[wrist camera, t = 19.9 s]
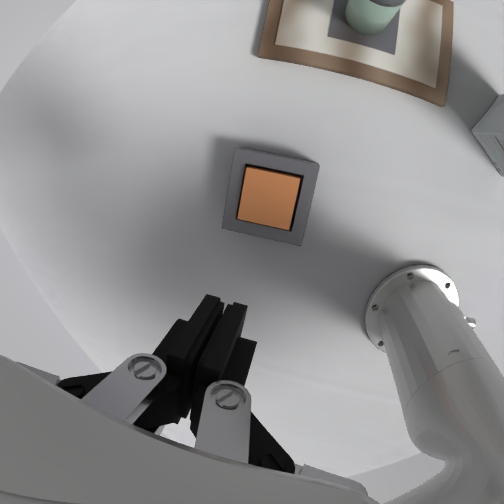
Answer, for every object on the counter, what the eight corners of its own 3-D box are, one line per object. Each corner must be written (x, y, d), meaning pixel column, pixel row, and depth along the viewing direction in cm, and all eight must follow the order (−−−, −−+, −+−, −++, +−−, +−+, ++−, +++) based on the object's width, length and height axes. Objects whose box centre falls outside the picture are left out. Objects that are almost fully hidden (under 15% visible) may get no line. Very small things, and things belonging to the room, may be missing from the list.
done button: (300, 175, 30) (300, 178, 28) (290, 222, 32) (288, 230, 30) (251, 165, 31) (246, 167, 28) (242, 212, 33) (237, 218, 30)
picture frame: (450, 4, 21) (454, 1, 20) (441, 106, 26) (445, 105, 25) (281, -42, 23) (280, -48, 22) (259, 58, 28) (257, 54, 27)
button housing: (317, 163, 31) (319, 166, 28) (301, 235, 34) (300, 246, 31) (242, 147, 32) (235, 148, 28) (229, 219, 35) (221, 228, 31)
